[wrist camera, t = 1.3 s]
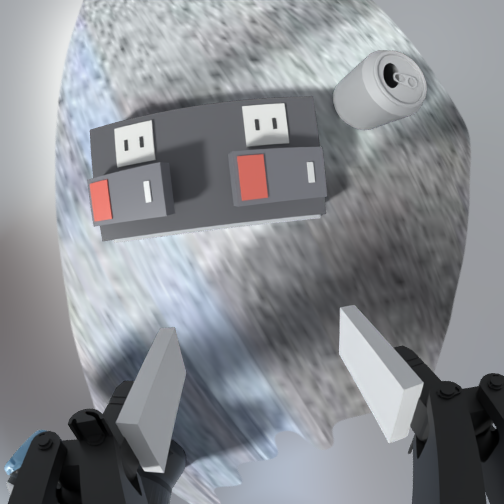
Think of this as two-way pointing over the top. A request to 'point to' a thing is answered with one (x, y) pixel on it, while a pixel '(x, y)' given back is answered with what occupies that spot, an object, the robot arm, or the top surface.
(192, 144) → the power strip
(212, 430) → the top surface
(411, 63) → the can
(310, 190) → the rocker
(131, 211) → the block
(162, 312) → the top surface
